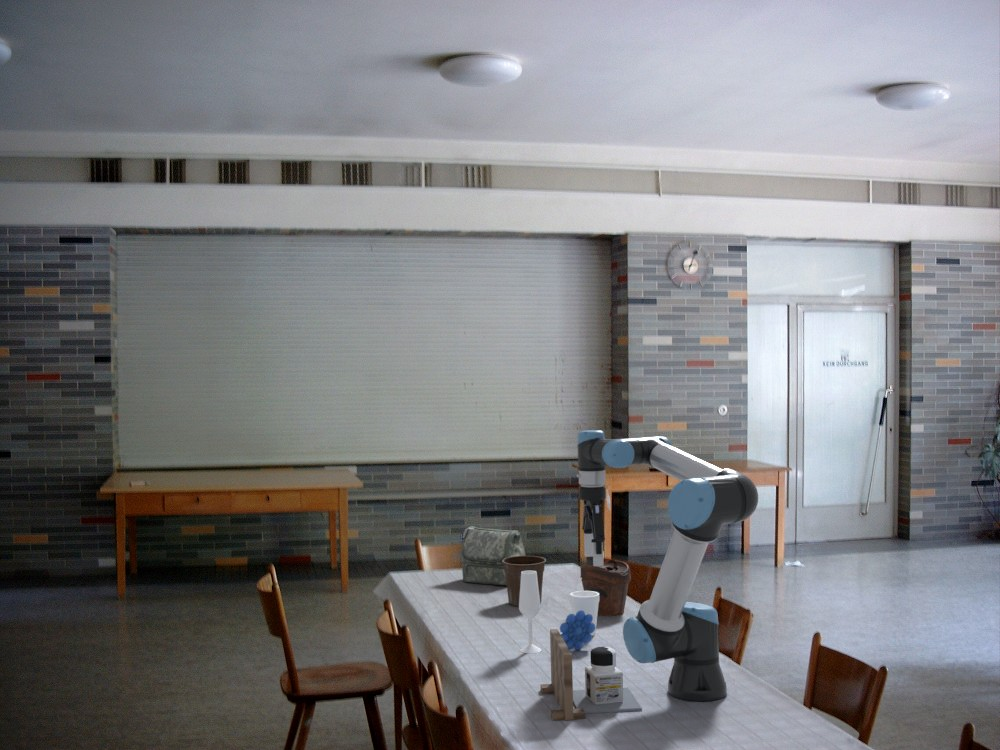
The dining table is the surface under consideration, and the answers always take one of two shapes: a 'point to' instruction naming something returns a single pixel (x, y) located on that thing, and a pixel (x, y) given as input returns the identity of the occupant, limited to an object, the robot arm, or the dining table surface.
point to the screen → (561, 679)
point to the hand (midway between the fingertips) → (593, 561)
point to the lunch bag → (488, 554)
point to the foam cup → (585, 604)
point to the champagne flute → (529, 604)
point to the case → (608, 585)
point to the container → (603, 677)
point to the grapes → (577, 630)
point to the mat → (589, 707)
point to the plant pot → (513, 574)
